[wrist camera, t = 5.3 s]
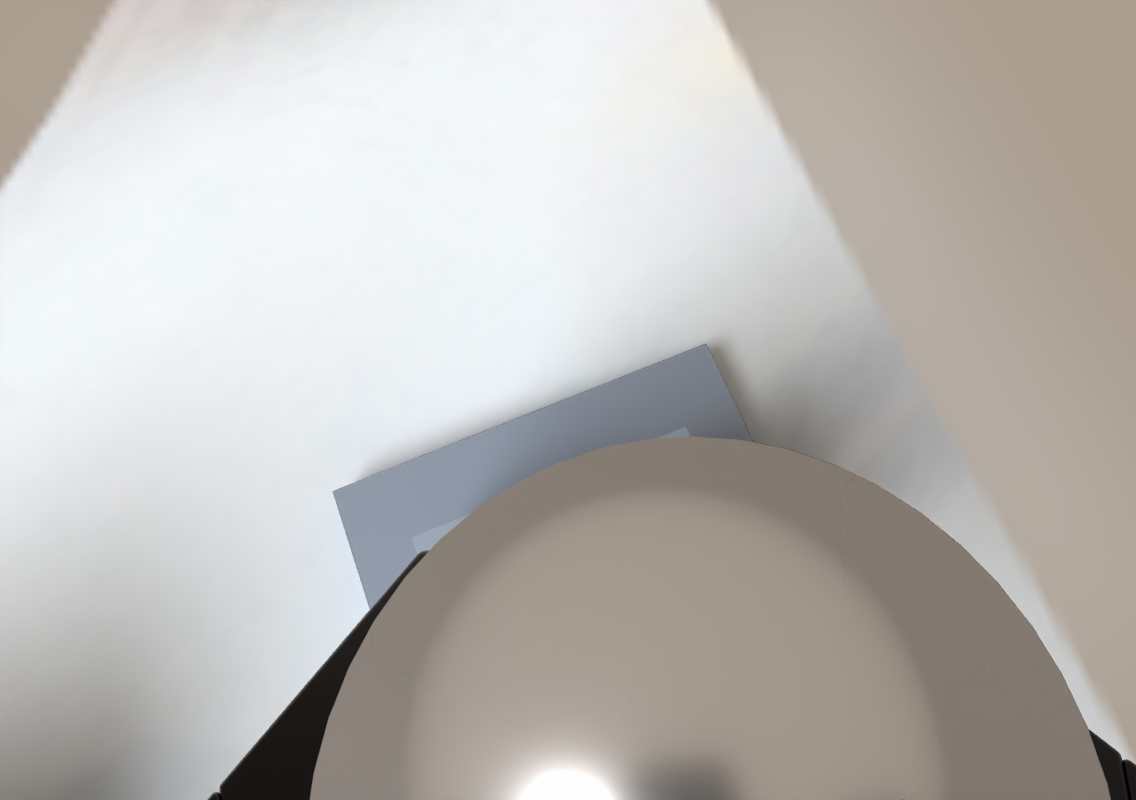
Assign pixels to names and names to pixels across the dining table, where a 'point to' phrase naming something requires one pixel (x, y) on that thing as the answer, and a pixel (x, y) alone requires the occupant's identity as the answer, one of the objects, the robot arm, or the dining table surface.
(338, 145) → the dining table surface
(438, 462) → the jack base
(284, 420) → the dining table surface
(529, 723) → the cylinder
